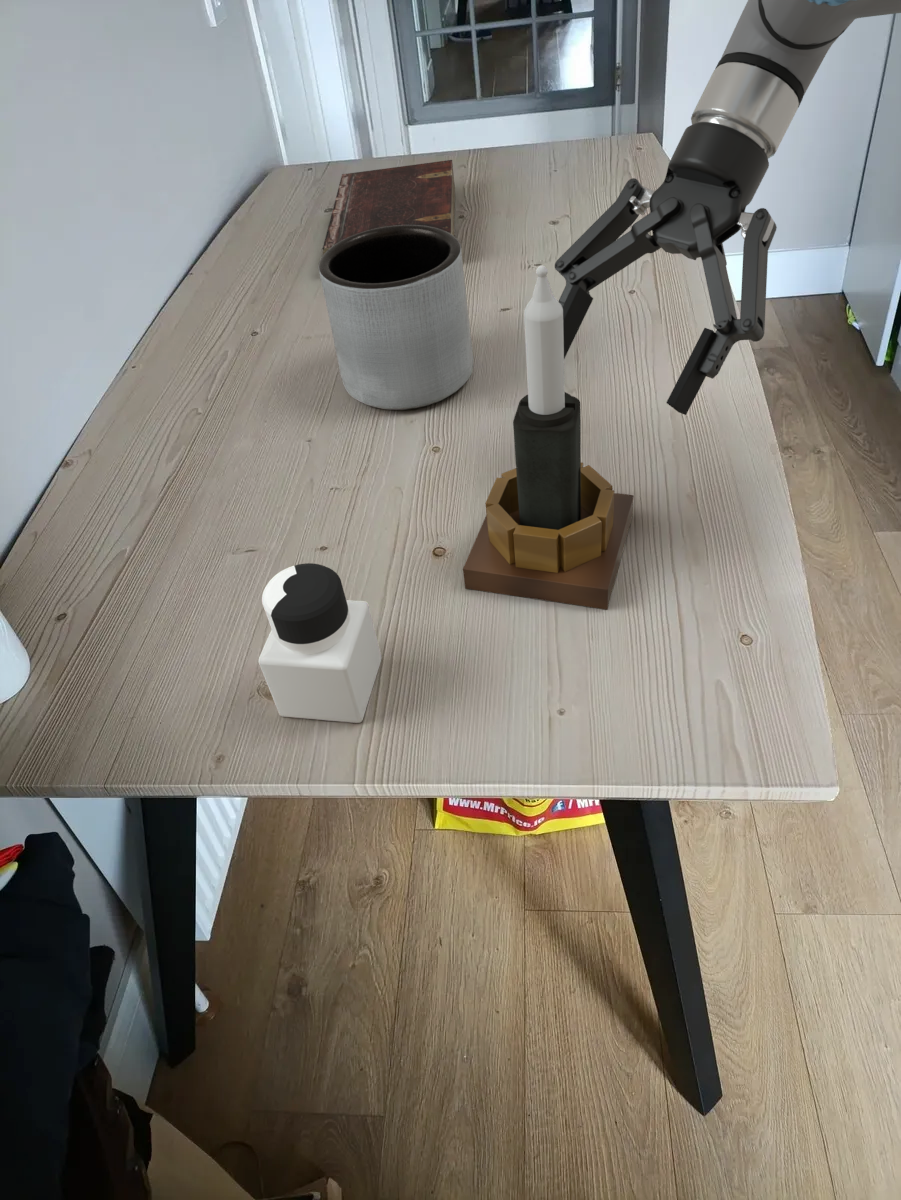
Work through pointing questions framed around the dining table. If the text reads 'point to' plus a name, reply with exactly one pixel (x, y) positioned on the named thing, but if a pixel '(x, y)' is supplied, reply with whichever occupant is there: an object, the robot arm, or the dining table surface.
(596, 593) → the stand
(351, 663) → the medicine bottle
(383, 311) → the planter
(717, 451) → the dining table surface
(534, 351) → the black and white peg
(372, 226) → the hardback book
